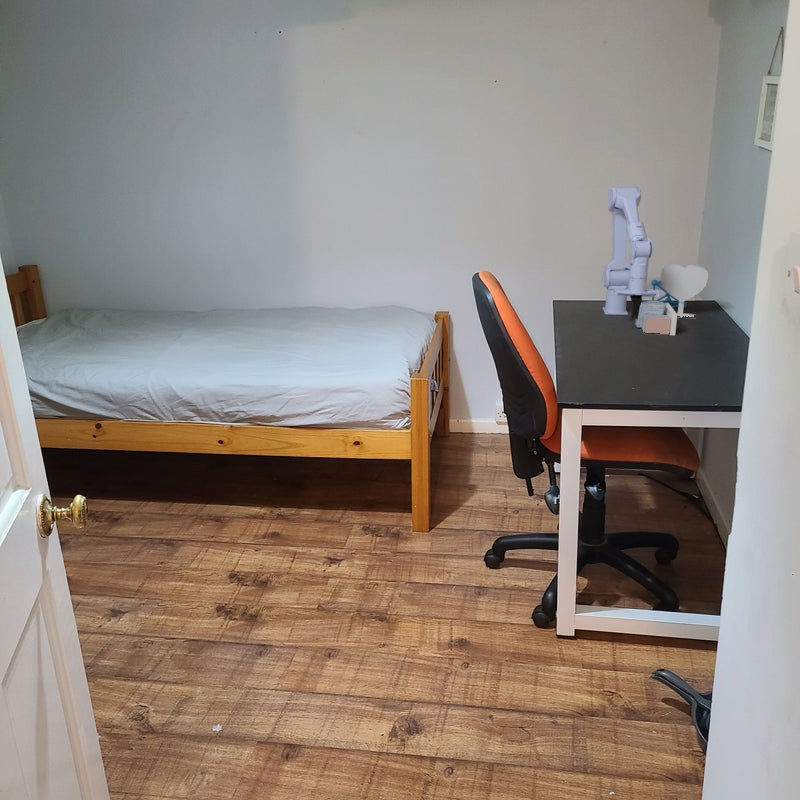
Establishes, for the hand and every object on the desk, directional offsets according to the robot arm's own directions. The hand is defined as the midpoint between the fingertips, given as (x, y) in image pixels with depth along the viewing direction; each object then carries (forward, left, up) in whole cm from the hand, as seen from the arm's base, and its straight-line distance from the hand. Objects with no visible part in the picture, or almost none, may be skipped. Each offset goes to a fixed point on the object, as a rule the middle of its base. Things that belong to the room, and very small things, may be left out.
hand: (634, 317), depth 271 cm
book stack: (+1, +7, -3) cm, 8 cm away
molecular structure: (-30, +16, -4) cm, 35 cm away
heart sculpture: (-17, +18, -4) cm, 25 cm away
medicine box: (0, +5, -3) cm, 6 cm away
